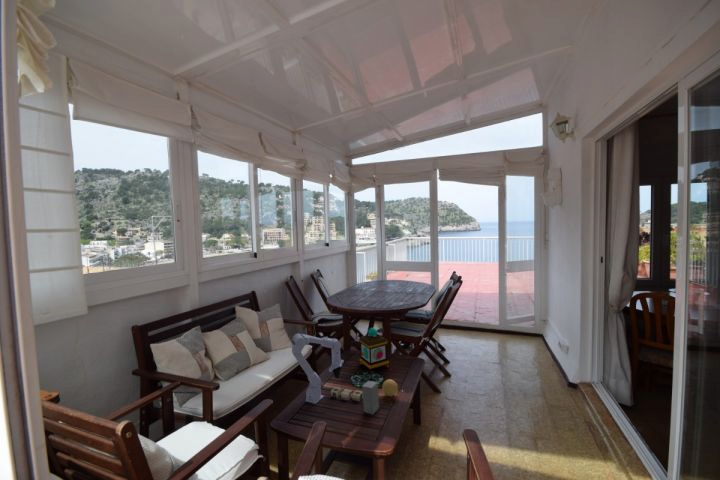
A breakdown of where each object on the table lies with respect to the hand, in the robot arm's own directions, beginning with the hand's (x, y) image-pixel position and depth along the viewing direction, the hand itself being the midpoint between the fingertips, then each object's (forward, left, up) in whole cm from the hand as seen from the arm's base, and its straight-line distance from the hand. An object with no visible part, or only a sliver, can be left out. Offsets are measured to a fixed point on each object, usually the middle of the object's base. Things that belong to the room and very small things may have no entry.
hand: (337, 377), depth 208 cm
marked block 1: (-4, -2, -10) cm, 11 cm away
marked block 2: (-2, -16, -10) cm, 19 cm away
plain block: (-4, -9, -10) cm, 14 cm away
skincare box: (-9, -29, -10) cm, 32 cm away
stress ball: (+10, -34, -10) cm, 36 cm away
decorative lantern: (+42, -6, -10) cm, 44 cm away
